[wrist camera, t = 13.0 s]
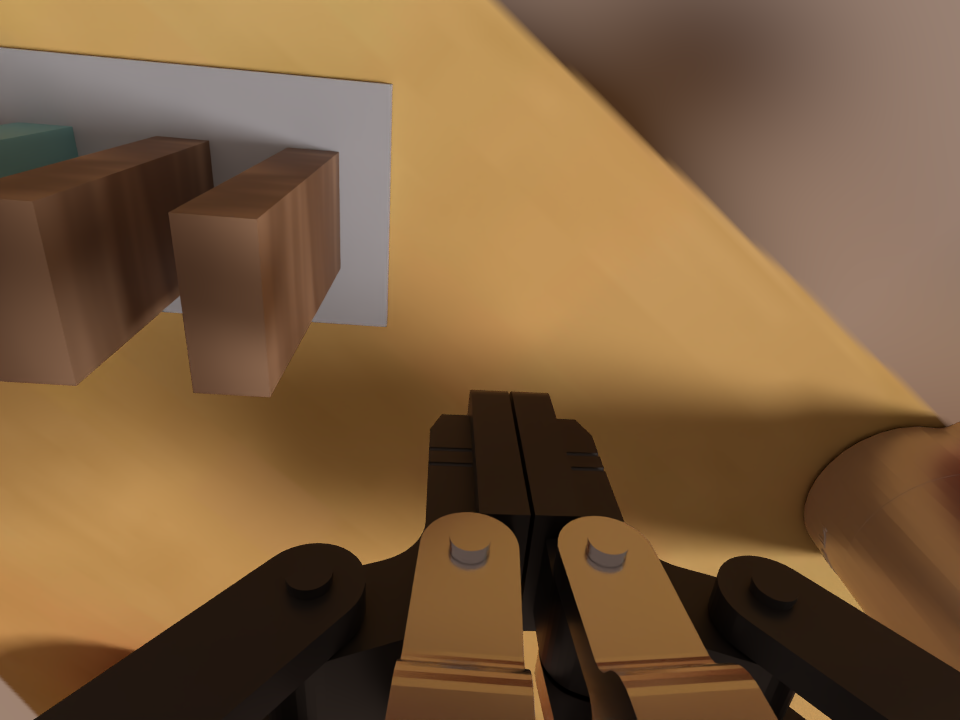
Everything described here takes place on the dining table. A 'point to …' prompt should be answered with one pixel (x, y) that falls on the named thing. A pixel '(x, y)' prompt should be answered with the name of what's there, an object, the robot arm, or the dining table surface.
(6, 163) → the domino
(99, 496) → the dining table surface
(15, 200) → the domino
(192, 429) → the dining table surface
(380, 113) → the felt mat
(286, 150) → the domino
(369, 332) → the dining table surface
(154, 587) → the dining table surface
